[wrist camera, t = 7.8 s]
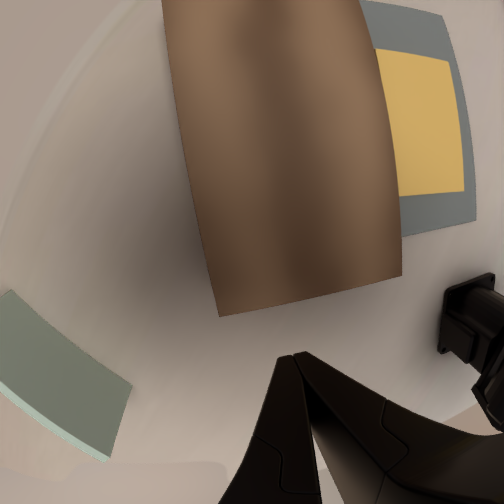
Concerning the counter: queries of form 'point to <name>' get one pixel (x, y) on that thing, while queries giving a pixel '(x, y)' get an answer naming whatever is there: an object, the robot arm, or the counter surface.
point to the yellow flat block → (422, 122)
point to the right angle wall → (58, 381)
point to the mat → (439, 47)
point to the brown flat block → (285, 147)
